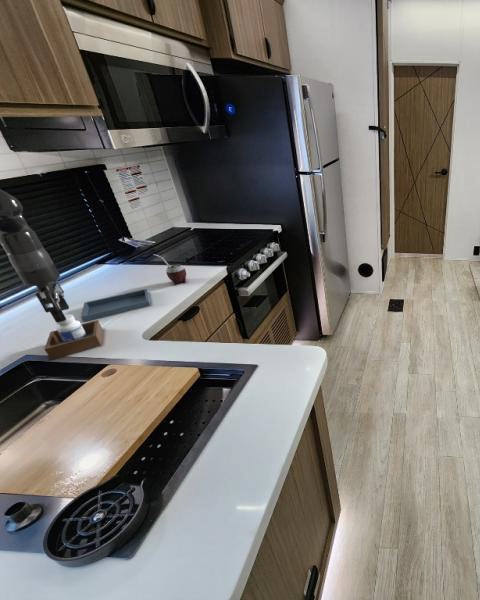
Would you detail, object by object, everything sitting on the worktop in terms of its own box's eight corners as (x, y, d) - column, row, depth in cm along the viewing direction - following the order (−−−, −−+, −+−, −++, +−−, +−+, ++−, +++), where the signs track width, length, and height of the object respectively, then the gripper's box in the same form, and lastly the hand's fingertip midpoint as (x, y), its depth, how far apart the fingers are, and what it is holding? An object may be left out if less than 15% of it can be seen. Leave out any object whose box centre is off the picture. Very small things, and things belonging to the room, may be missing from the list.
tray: (84, 323, 116) (80, 317, 115) (87, 308, 126) (84, 302, 124) (151, 306, 126) (148, 300, 125) (148, 294, 136) (146, 288, 135)
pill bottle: (62, 347, 102) (46, 321, 98) (81, 338, 107) (66, 312, 102) (76, 350, 101) (60, 323, 97) (94, 340, 106) (80, 314, 101)
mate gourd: (192, 280, 148) (182, 248, 141) (180, 288, 141) (168, 254, 134) (177, 279, 149) (166, 247, 142) (164, 287, 142) (152, 254, 135)
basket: (51, 361, 97) (44, 349, 95) (57, 343, 105) (50, 331, 103) (102, 347, 103) (95, 335, 101) (103, 331, 111) (97, 319, 109)
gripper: (20, 261, 95) (50, 309, 102) (9, 277, 85) (42, 329, 92) (55, 255, 99) (81, 302, 106) (48, 269, 89) (77, 321, 96)
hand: (63, 315), depth 99 cm, fingers open, 8 cm apart
